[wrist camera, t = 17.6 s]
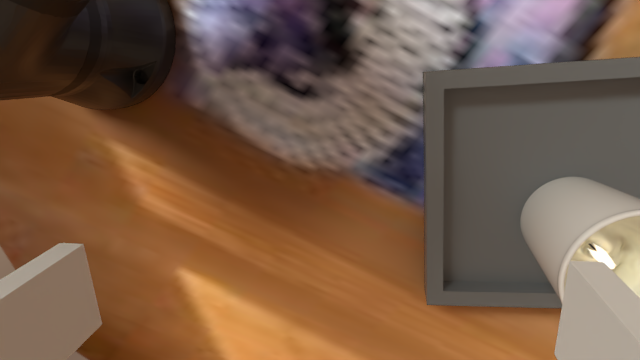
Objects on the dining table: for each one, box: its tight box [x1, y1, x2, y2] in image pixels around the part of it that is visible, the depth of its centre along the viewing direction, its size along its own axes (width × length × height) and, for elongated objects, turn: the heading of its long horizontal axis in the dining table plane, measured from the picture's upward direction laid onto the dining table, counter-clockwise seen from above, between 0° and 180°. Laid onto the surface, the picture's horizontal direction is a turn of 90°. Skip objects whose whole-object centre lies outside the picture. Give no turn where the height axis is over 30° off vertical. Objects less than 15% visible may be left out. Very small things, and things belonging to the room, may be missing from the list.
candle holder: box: [520, 177, 640, 304], centre depth 33 cm, size 10×10×12 cm
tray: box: [423, 57, 640, 308], centre depth 37 cm, size 22×22×3 cm
